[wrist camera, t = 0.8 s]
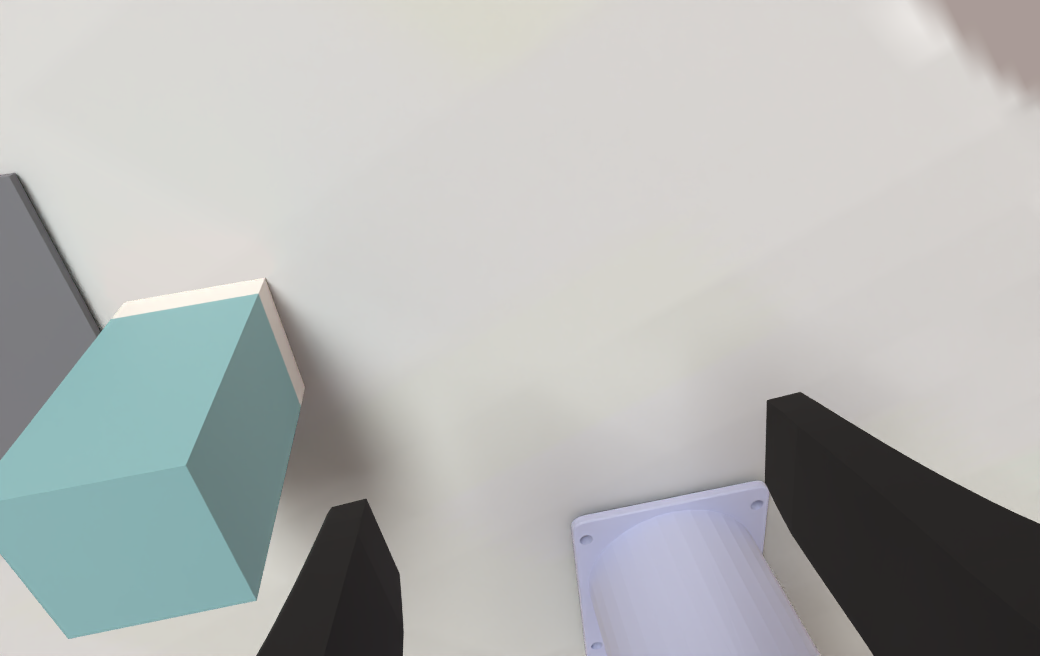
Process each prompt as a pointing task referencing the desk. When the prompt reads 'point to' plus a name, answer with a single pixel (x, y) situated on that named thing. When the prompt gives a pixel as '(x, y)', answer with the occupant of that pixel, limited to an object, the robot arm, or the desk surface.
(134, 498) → the teal block
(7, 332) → the pad
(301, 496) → the desk surface
